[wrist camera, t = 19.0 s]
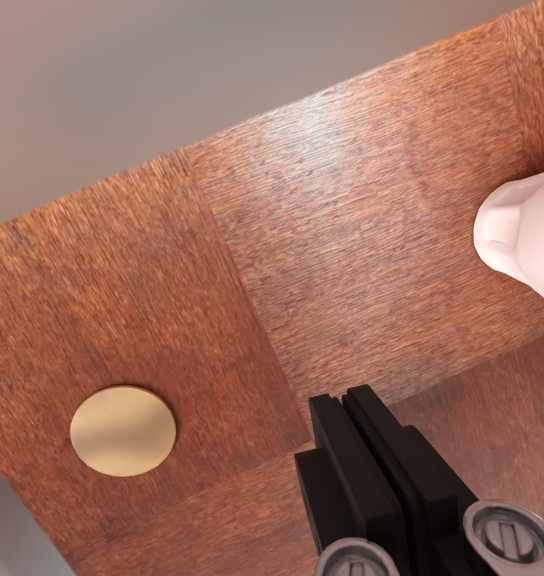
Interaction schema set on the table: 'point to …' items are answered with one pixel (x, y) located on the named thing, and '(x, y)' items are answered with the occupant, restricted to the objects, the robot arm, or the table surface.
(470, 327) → the table surface
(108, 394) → the coaster
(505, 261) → the cup
